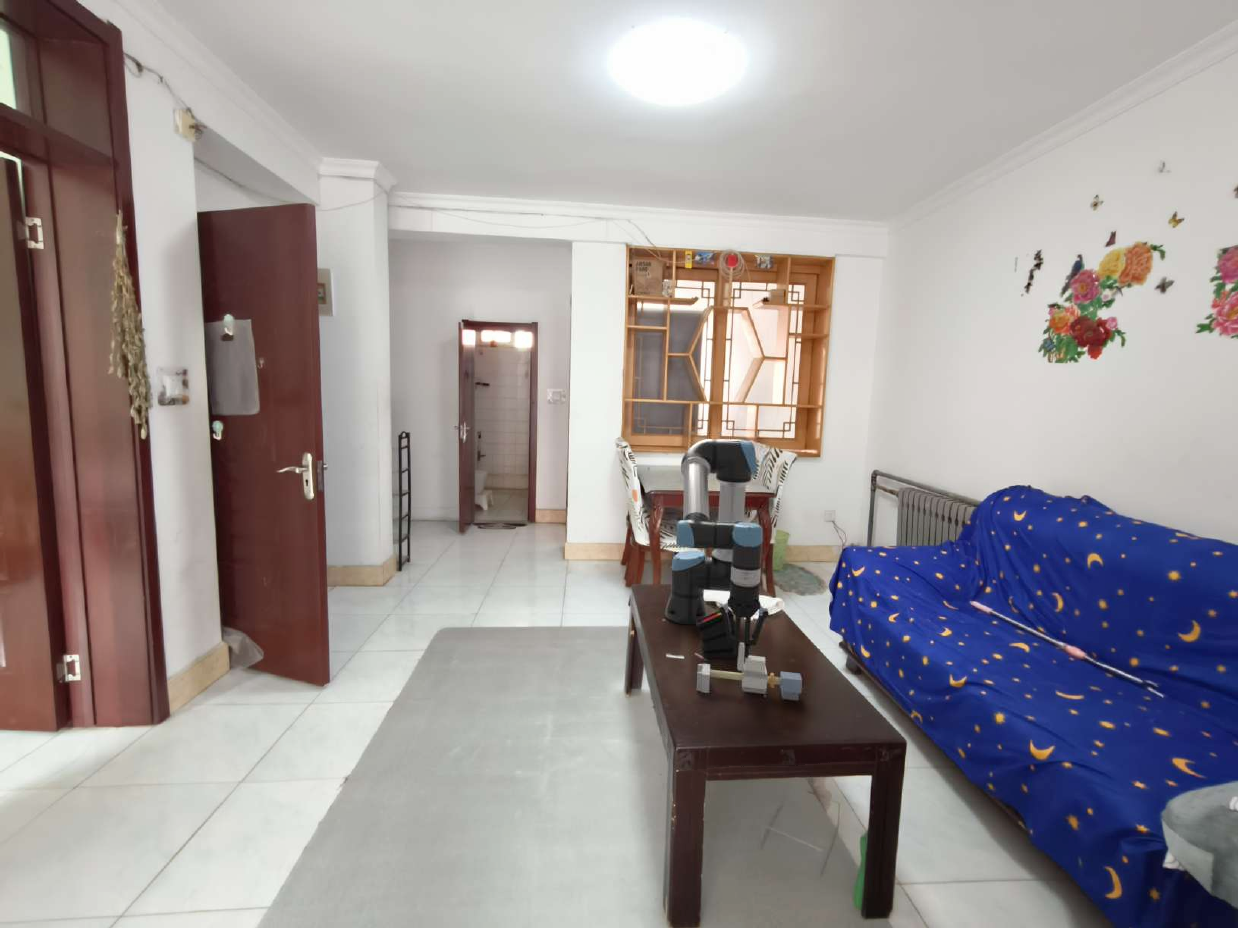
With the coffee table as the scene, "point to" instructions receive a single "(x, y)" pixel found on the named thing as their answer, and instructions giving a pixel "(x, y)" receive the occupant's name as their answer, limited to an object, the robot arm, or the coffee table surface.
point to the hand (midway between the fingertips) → (740, 667)
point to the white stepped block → (754, 675)
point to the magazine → (716, 635)
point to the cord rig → (787, 680)
